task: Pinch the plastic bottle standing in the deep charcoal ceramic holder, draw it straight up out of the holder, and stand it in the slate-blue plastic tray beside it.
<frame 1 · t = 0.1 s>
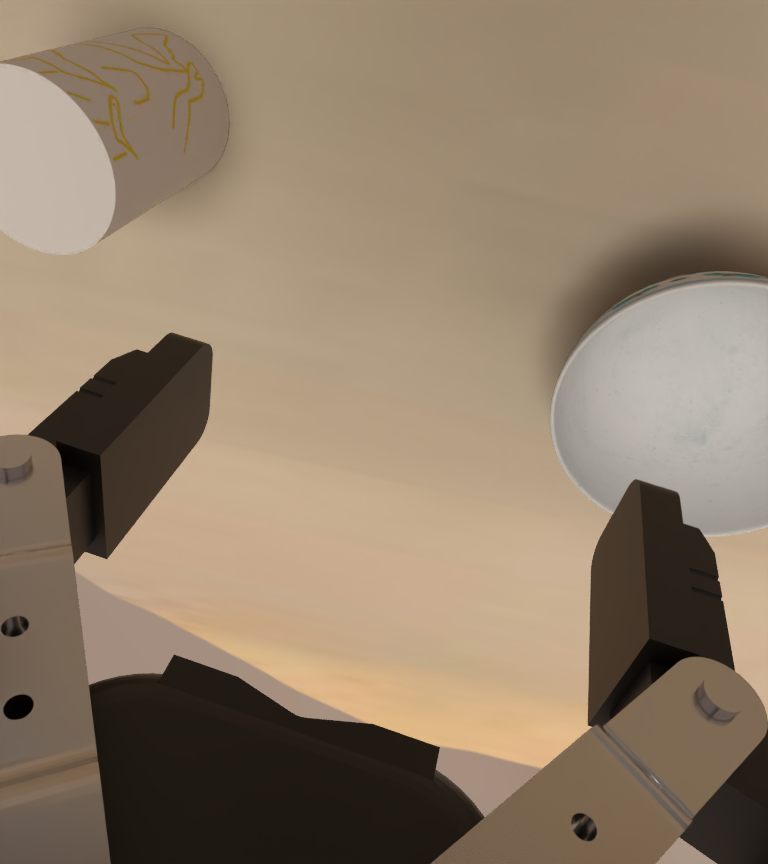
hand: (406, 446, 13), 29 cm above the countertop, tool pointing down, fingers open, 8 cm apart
chinaware: (690, 348, 42), on the countertop
cup: (164, 108, 41), on the countertop
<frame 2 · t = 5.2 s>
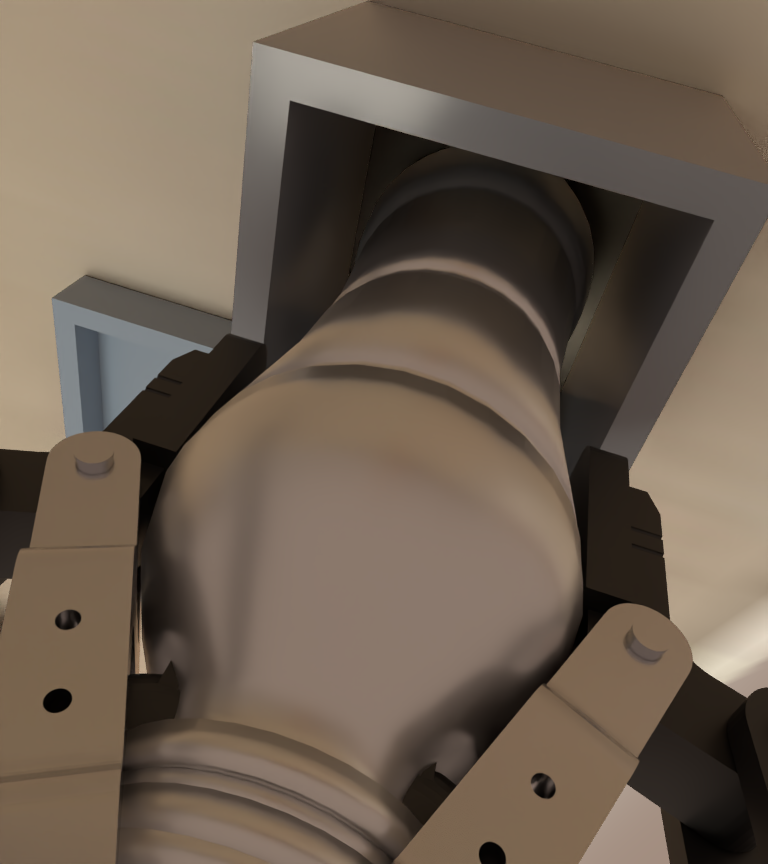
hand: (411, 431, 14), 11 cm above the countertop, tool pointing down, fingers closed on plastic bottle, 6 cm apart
plastic bottle: (486, 233, 22), resting in holder, touching gripper
holder: (485, 235, 22), on the countertop
tray: (221, 450, 30), on the countertop
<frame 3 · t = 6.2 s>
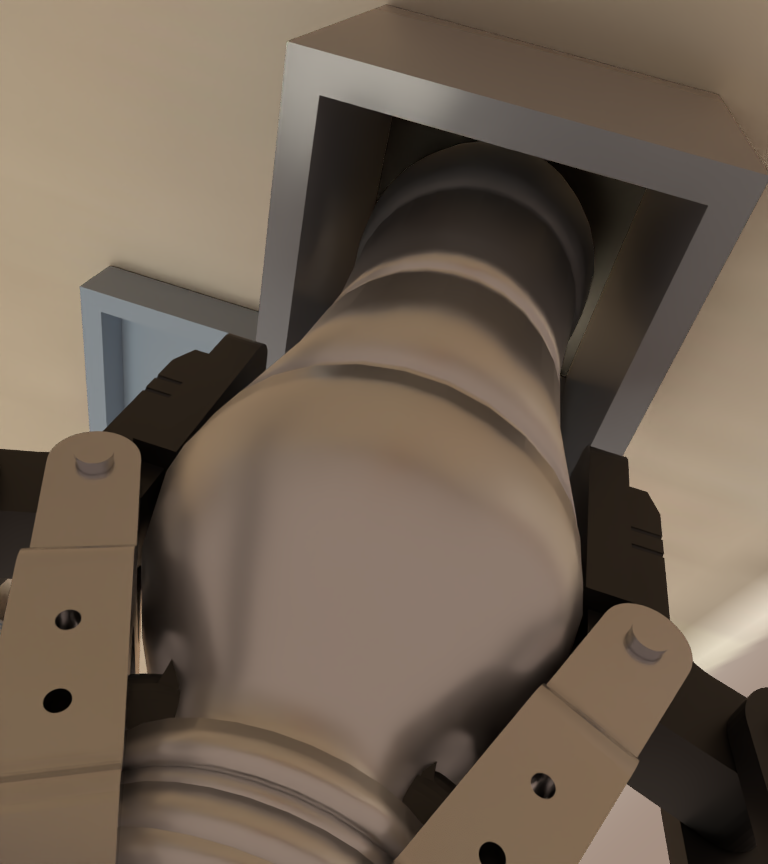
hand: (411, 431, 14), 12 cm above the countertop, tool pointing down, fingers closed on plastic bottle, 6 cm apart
plastic bottle: (486, 233, 22), point 1 cm above the countertop, touching gripper
holder: (494, 227, 23), on the countertop
tray: (237, 435, 31), on the countertop
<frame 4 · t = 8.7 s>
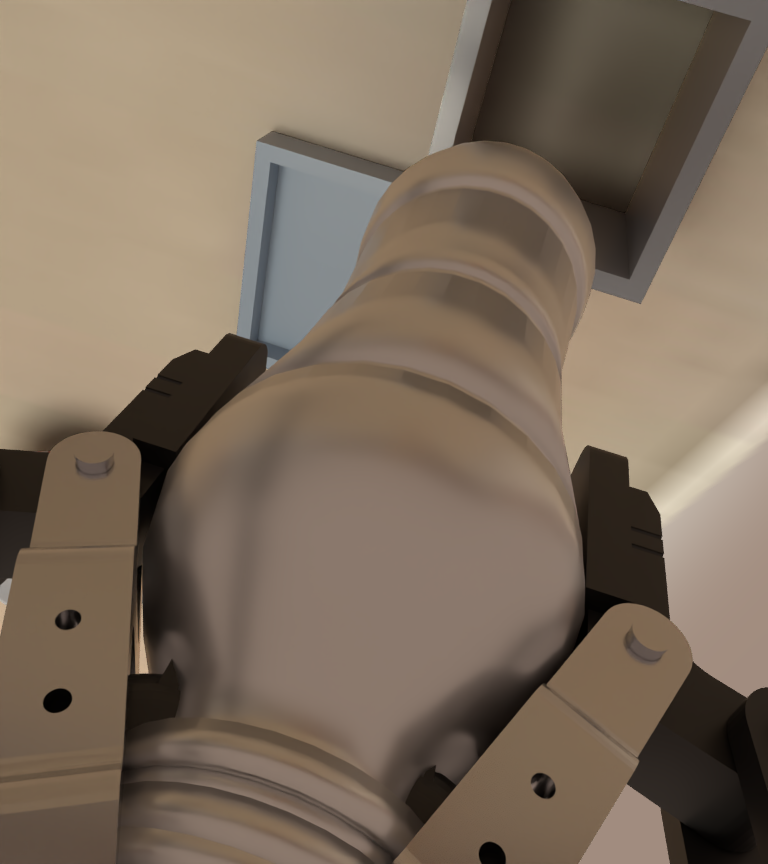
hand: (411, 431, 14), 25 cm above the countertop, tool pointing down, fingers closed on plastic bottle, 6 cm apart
plastic bottle: (487, 233, 22), point 14 cm above the countertop, touching gripper
holder: (579, 89, 32), on the countertop
tray: (357, 278, 40), on the countertop
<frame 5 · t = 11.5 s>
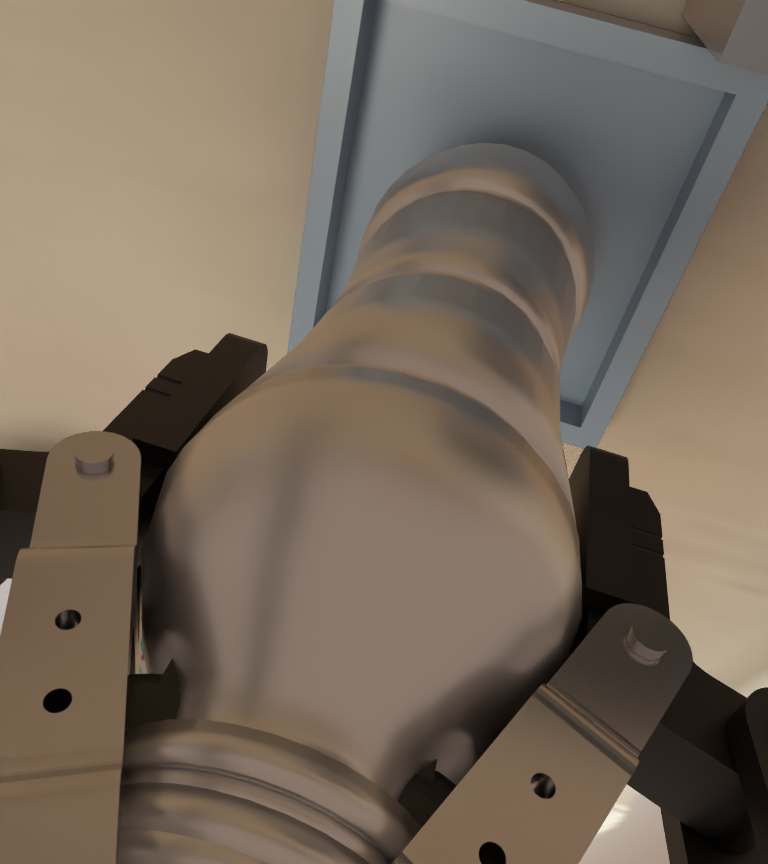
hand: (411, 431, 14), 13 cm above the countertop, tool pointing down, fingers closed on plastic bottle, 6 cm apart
chinaware: (91, 543, 39), on the countertop
plastic bottle: (487, 235, 22), point 2 cm above the countertop, touching gripper
tray: (495, 219, 24), on the countertop
when the fingers open (12 cm above the countertop, at t = 12.3 s): plastic bottle drops 1 cm, resting on tray.
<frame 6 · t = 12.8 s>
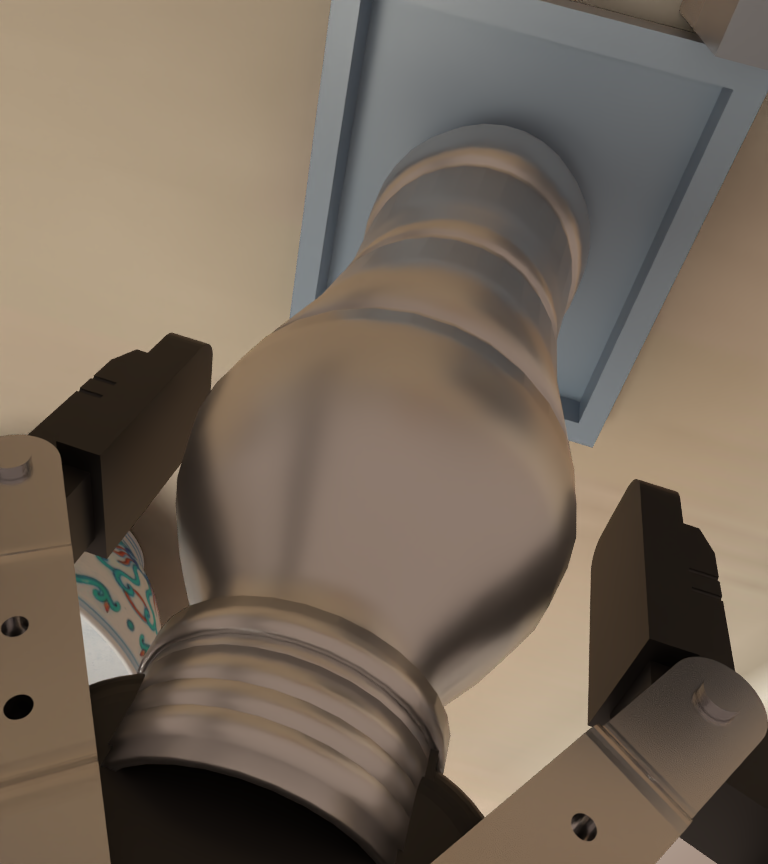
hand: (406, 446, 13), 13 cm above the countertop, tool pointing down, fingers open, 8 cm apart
chinaware: (90, 540, 39), on the countertop
plastic bottle: (487, 214, 23), resting on tray
tray: (492, 214, 24), on the countertop
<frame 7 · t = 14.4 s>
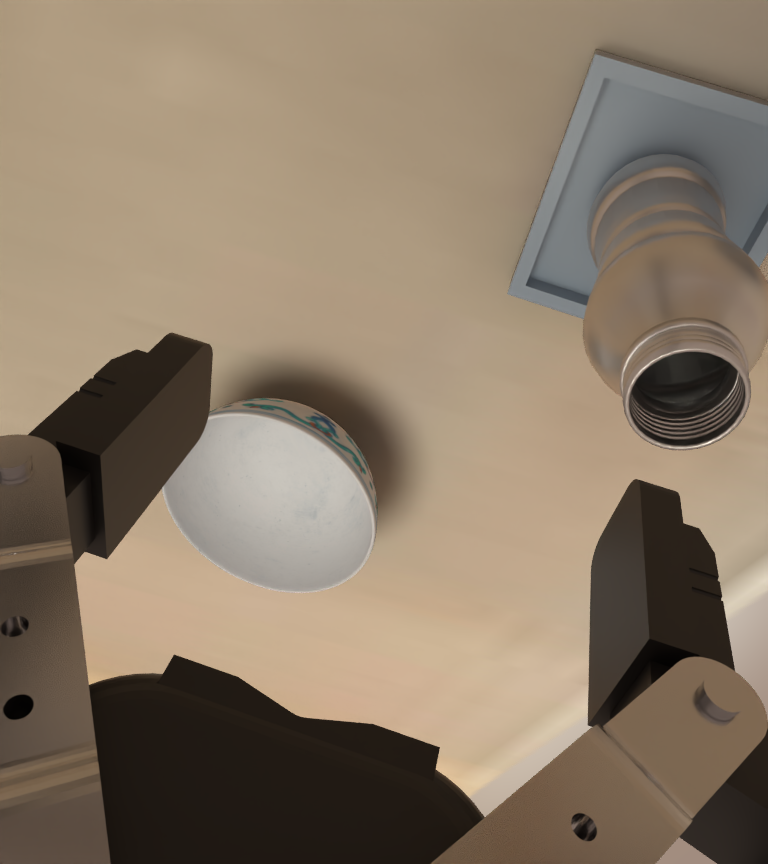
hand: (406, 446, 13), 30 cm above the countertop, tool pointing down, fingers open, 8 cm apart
chinaware: (305, 444, 54), on the countertop
plastic bottle: (651, 208, 38), resting on tray
tray: (653, 208, 38), on the countertop
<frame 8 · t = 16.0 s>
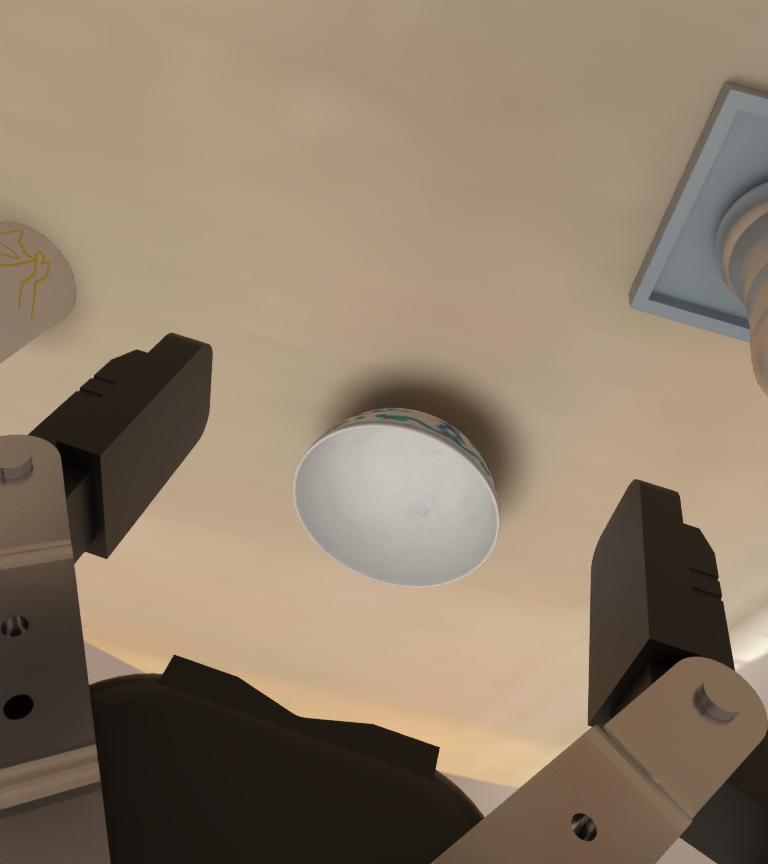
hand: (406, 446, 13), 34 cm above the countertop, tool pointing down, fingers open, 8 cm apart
chinaware: (416, 447, 57), on the countertop
cup: (29, 272, 56), on the countertop
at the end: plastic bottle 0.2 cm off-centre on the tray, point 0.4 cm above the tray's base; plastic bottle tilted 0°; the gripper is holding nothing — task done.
